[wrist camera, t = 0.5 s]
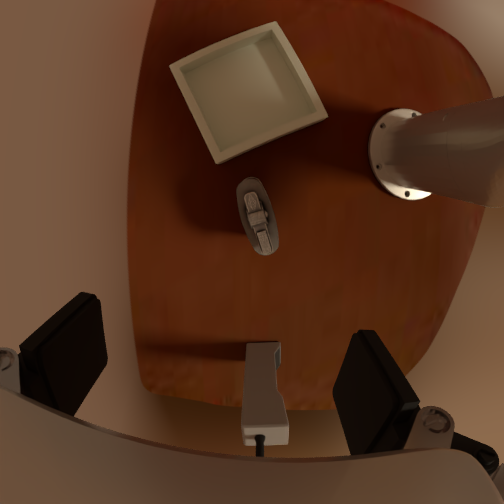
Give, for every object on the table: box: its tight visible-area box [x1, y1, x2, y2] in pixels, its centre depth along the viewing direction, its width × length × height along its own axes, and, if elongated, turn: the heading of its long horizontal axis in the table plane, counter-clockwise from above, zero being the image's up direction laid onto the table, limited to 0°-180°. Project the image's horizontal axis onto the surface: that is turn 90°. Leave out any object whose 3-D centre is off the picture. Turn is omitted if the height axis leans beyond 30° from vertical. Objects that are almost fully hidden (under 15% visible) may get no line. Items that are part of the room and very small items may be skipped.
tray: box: [169, 21, 328, 164], centre depth 30 cm, size 14×14×4 cm
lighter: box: [236, 177, 279, 255], centre depth 31 cm, size 8×3×10 cm, turn 17°
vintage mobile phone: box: [241, 342, 289, 457], centre depth 30 cm, size 4×5×25 cm
